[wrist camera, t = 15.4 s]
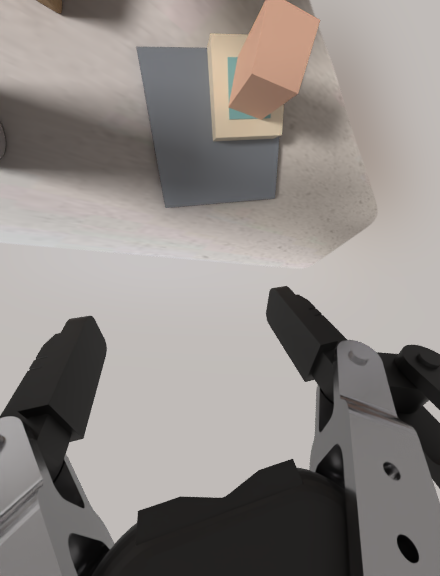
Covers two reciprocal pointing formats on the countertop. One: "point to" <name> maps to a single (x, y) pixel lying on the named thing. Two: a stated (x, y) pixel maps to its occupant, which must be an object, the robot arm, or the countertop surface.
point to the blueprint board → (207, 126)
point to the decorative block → (53, 4)
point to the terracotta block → (273, 59)
